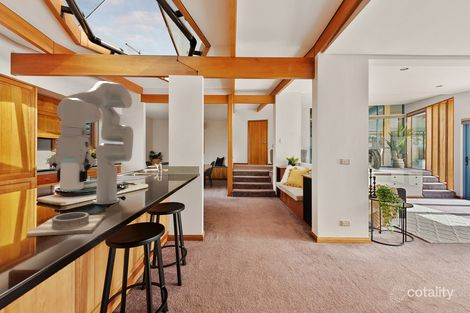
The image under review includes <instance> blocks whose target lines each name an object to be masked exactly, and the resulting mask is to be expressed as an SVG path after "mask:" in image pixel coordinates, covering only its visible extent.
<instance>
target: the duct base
mask: <svg viewBox="0 0 470 313" xmlns="http://www.w3.org/2000/svg"><path fill="white" fill-rule="evenodd" d="M105 217H106V216H105V214H98V215H97V214H96V215H90V214H89V213H88V212H82V211H80V212H79V211H78V212H76V211H75V212H67V213H66V212H65V213H60V214H57V215H55V216H52V218H50V219H48V220H46V221H45V222H43V223H41V224H40V225H38V226H37V227H35V228H33V229H32V230H30V231H28V232H27V233H26V237H36V236H37V237H39V236H53V235H55V236H56V235H71V234H89V233H92V232H93V231H94V230H95V229H96V228H97V227H98V225H100V223H101V222H102V221H103V220H104V219H105Z"/></svg>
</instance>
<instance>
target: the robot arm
mask: <svg viewBox="0 0 470 313" xmlns="http://www.w3.org/2000/svg"><path fill="white" fill-rule="evenodd" d="M132 103H133V98H132V95H131V94H130V92H129V90H128V89H127V87H126V86H125V85H124V84H123V83H120V82H112V81H98V82H95V84H94V85H92V87H90V88H89V90H87V91H81V92H77V93H75V94H74V93H73V94H69V95H67V96H66V97H64V98H63V99H62V100H61V101H60V102H59V103H58V105H57V107H56V114H57V116H58V118H59V119H60V135H59V136H58V138H57V141H56V148H55V154H54V155H52V156H51V157H50V158H49V159H48V161H49V162H50V164H51V165H52V167H54V169H55V171H57V172H56V180H57V182H59V183H60V168H61V161H62V160H63V159H64V158H74V160H75V161H76V162H77V163H78V164H79V165H80V168H81V171H80V175H79V182H84V183H85V182H87V180H88V171H89V170H90V169H91V168H93V166H94V165H95V164H96V167H97V170H96V195H95V196H96V198H95V199H96V200H94V199H93V200H92V203H93V204H95V205H111V204H116V203H118V202H120V198H119V197H117V196H118V195H117V193H118V191H117V190H118V168H117V166H116V165H115V163H114V162H119V163H120V162H122V163H123V162H126V163H127V162H129V161H131V159H132V156H133V146H134V129H133V128H132V127H131V126H129V125H125V124H121V115H120V114H119V113H118V112H117V110H116V109H117V108H119V109H129V108H131V107H132ZM115 108H116V109H115ZM101 113H102V114H101ZM101 117H102V121H101V131H100V136H101V139H102V141H104V142H106V143H99V144H98V145H97V146H96V147H95V157H96V159H95V158H94V157H92V155H91V145H90V140H89V137H87V135H89V134H90V131H89V130H87V123H89V124H90V123H91V124H92V123H93V124H94V123H97V122H99V121H100V119H101ZM110 142H111V143H110Z"/></svg>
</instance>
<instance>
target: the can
mask: <svg viewBox="0 0 470 313" xmlns="http://www.w3.org/2000/svg"><path fill="white" fill-rule="evenodd" d="M80 171H81V168H80V165H79V164H78V163H77V162H76V161H75V160H74V158H64V159H63V160H62V161H61V168H60V182H59V189H60V190H61V191H63V192H76V191H82V189H84V186H85V185H84V184H85V182H79V175H80Z"/></svg>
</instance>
